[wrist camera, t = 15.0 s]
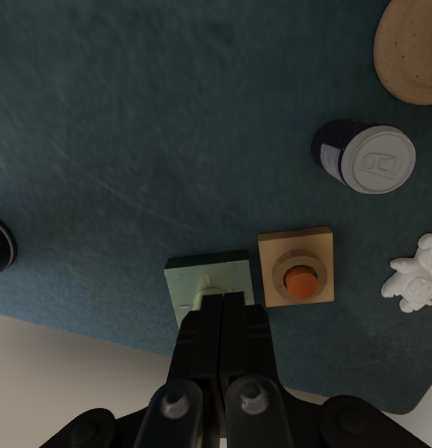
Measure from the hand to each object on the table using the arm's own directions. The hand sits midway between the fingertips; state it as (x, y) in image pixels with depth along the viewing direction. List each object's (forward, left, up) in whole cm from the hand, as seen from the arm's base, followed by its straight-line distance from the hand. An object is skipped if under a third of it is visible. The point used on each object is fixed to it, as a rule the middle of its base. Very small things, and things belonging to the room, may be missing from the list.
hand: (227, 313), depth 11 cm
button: (+6, -14, -23) cm, 28 cm away
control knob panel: (-5, -17, -27) cm, 32 cm away
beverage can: (+12, +1, -27) cm, 30 cm away
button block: (+6, -14, -27) cm, 31 cm away
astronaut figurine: (+23, -17, -27) cm, 39 cm away
